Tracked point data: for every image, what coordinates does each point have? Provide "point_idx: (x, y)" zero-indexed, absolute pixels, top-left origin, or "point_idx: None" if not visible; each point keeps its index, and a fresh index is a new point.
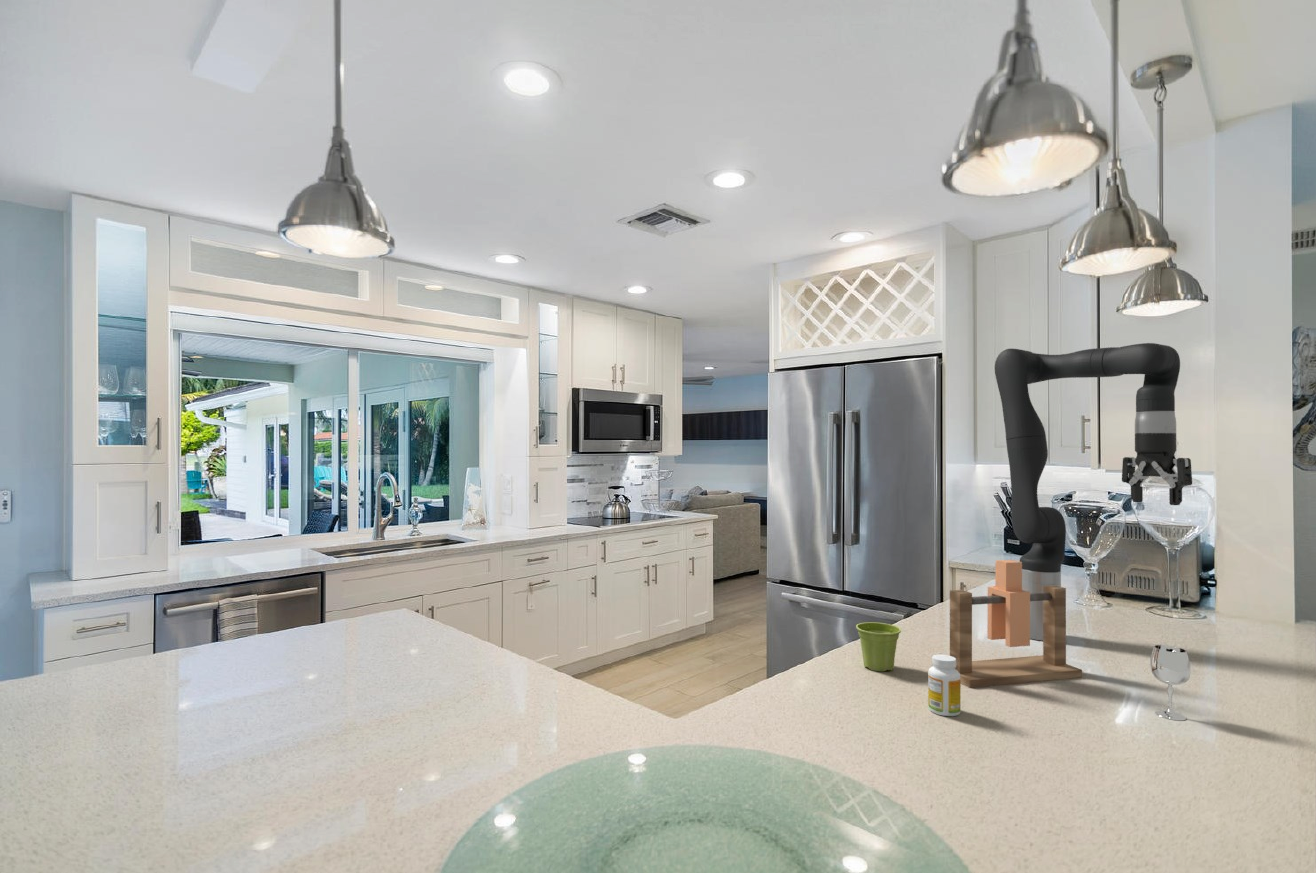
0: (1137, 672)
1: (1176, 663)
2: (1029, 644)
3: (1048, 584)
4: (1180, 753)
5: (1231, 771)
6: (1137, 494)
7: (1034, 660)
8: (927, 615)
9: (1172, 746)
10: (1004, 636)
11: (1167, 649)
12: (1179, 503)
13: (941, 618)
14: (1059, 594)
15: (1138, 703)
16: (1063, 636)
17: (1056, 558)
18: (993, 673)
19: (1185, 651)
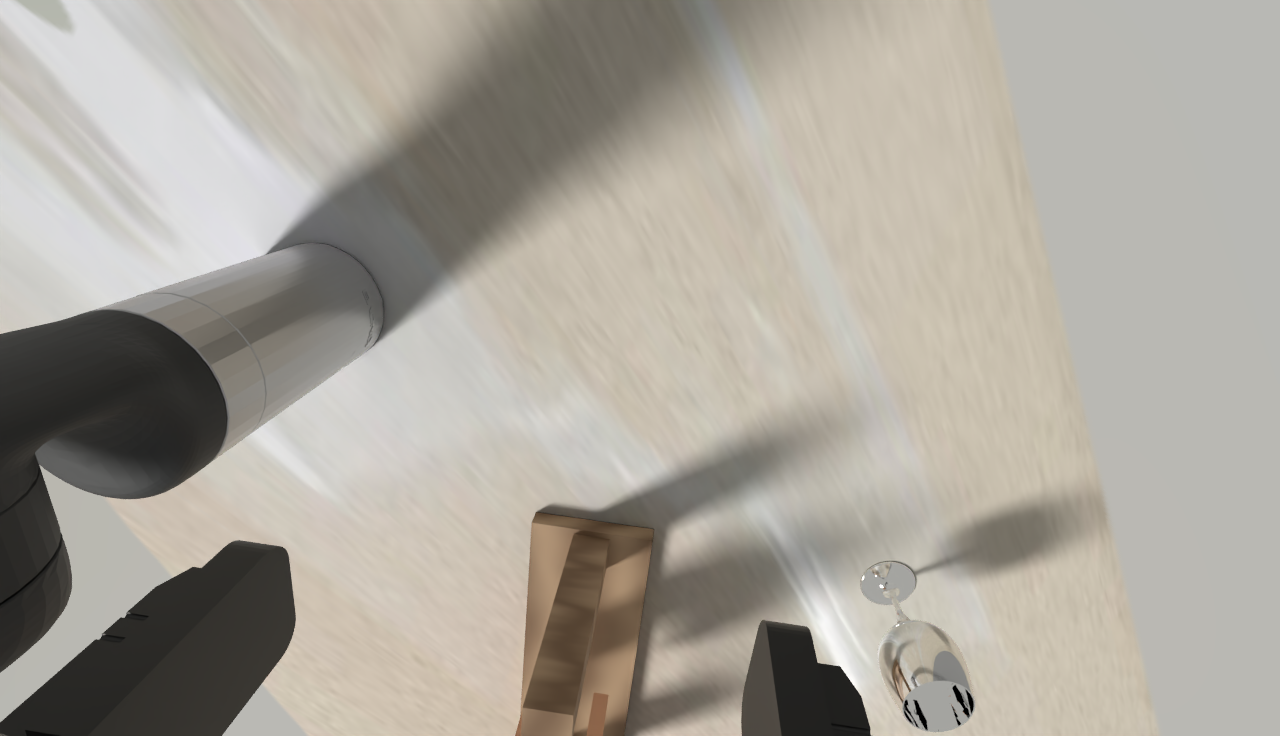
0: (681, 369)
1: (955, 704)
2: (607, 698)
3: (262, 410)
4: (980, 720)
5: (1056, 718)
6: (221, 692)
7: (559, 575)
8: None
9: None
10: None
11: (915, 675)
12: (807, 642)
13: None
14: (575, 717)
15: (817, 574)
16: (598, 597)
17: (167, 426)
18: None
19: (965, 686)
